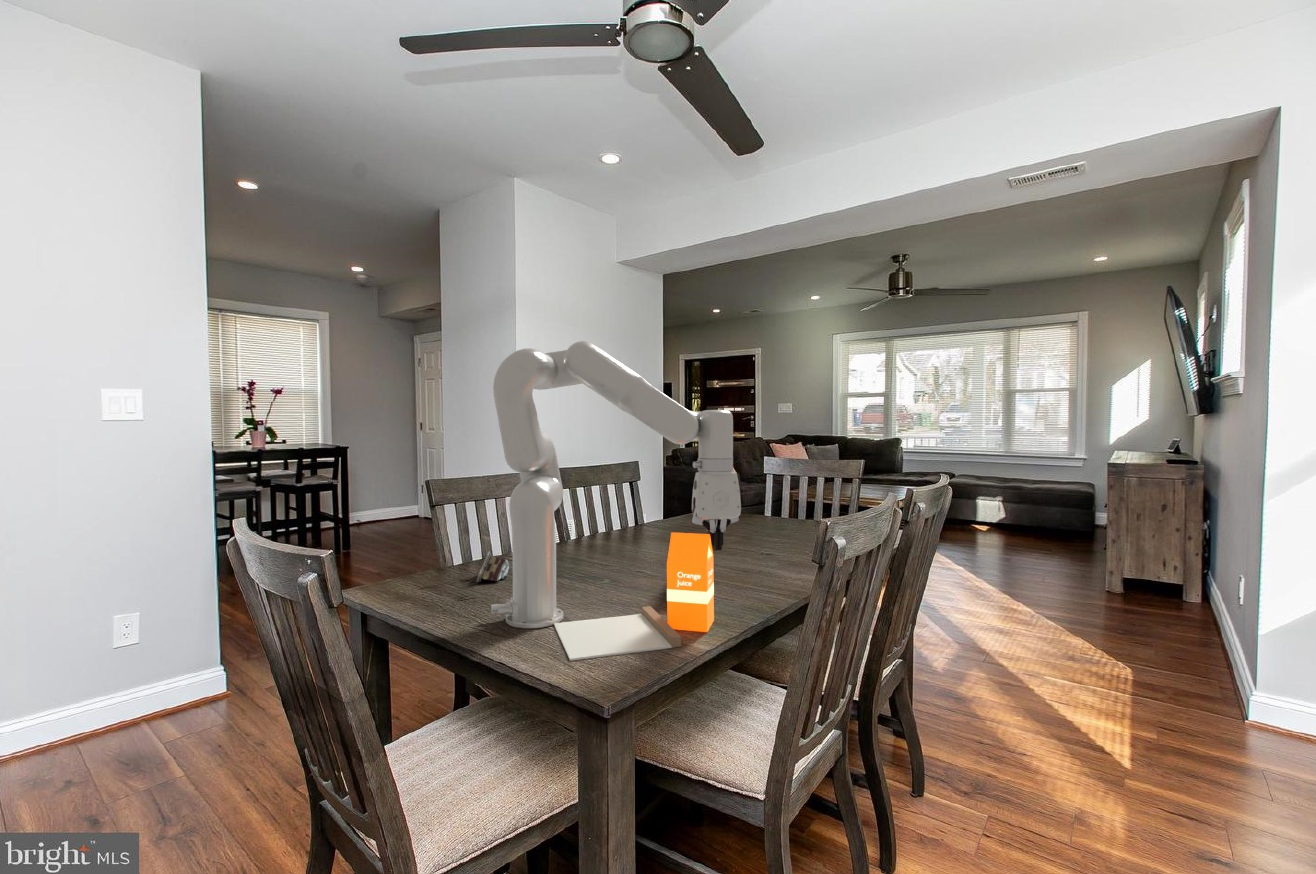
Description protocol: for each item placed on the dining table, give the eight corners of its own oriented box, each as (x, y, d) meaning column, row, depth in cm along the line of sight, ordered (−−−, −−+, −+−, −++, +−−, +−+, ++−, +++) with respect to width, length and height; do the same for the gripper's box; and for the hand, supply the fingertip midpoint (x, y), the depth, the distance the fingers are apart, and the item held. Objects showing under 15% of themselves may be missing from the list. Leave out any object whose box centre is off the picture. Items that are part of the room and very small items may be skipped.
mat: (570, 660, 111) (570, 650, 111) (553, 625, 130) (553, 616, 130) (681, 646, 118) (681, 636, 118) (650, 614, 137) (650, 606, 137)
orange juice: (707, 632, 125) (706, 537, 124) (667, 628, 128) (665, 536, 127) (714, 619, 133) (713, 530, 132) (675, 616, 135) (674, 529, 134)
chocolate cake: (502, 584, 159) (515, 548, 168) (476, 578, 158) (490, 542, 167) (499, 602, 165) (511, 566, 174) (473, 596, 165) (487, 560, 173)
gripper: (690, 468, 125) (690, 555, 125) (754, 466, 130) (754, 550, 130) (677, 466, 132) (677, 548, 133) (738, 464, 137) (738, 543, 137)
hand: (715, 549), depth 131 cm, fingers closed
